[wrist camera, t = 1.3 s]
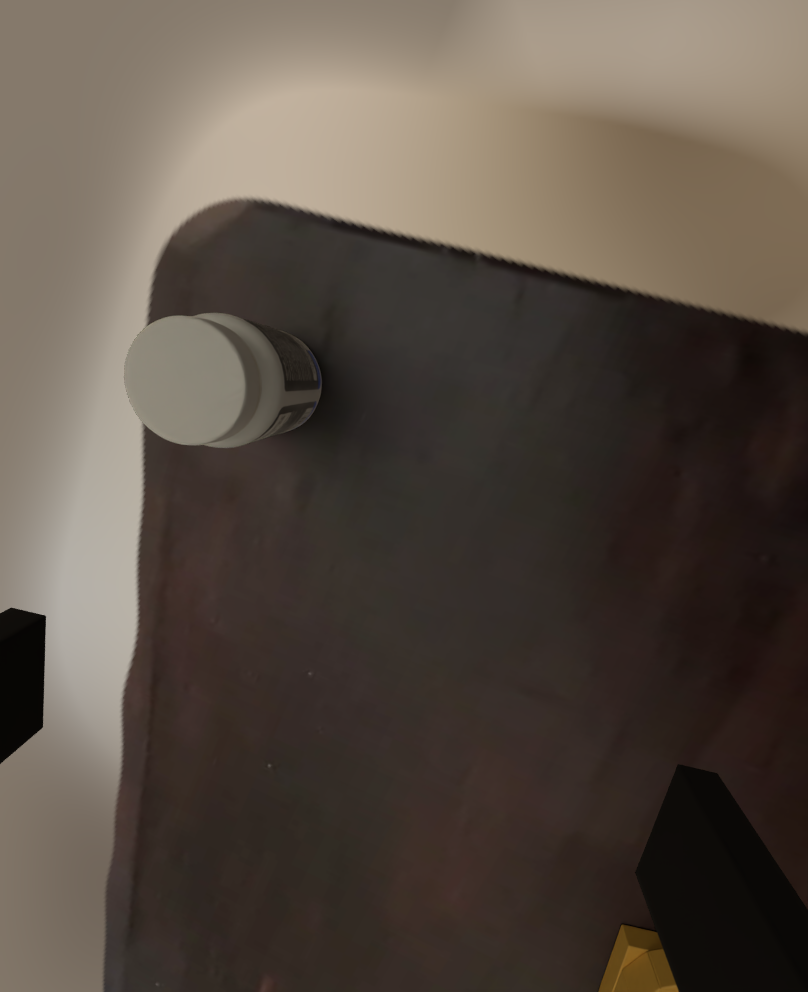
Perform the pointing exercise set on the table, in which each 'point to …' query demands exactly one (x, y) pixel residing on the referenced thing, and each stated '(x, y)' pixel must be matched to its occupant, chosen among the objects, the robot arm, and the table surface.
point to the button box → (638, 964)
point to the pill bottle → (220, 380)
